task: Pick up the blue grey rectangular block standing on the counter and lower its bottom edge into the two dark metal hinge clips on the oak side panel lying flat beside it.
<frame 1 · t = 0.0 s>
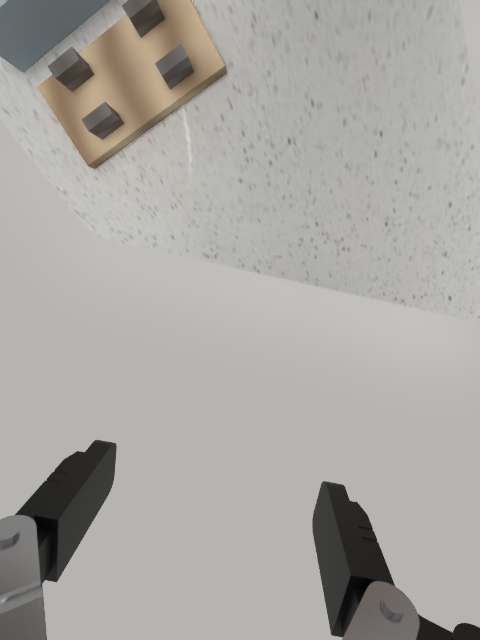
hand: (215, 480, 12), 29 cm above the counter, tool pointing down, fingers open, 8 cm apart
blue grey rectangular block: (64, 18, 34), on the counter
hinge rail: (134, 83, 35), on the counter
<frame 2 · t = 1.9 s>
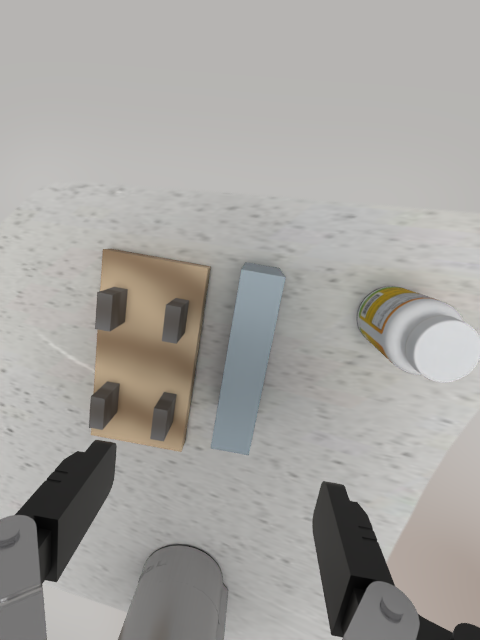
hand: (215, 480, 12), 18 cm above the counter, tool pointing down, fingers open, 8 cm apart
blue grey rectangular block: (248, 339, 30), on the counter
supplement bottle: (386, 315, 29), on the counter
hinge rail: (150, 352, 31), on the counter
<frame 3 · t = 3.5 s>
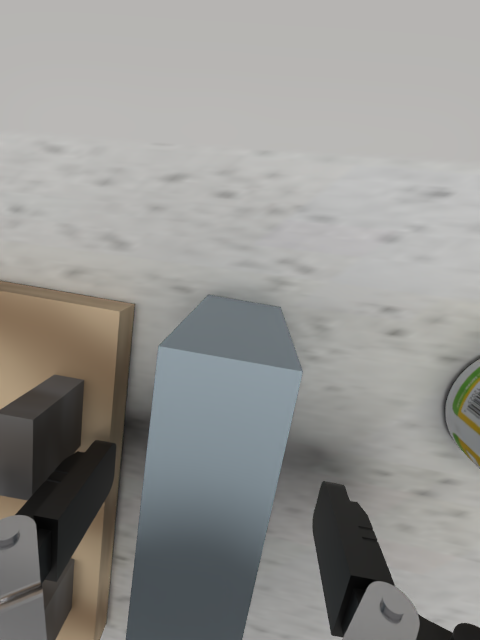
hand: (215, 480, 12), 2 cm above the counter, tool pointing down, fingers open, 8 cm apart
blue grey rectangular block: (219, 447, 15), on the counter
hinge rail: (27, 468, 16), on the counter
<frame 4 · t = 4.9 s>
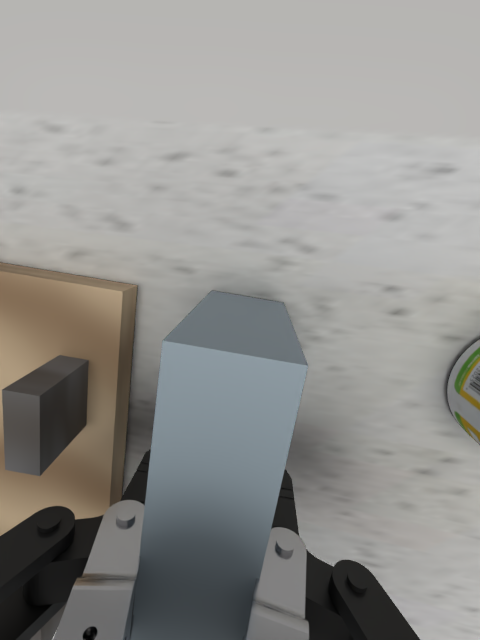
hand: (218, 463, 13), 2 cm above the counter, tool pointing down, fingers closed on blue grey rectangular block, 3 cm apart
blue grey rectangular block: (222, 443, 15), on the counter, touching gripper
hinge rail: (34, 449, 16), on the counter
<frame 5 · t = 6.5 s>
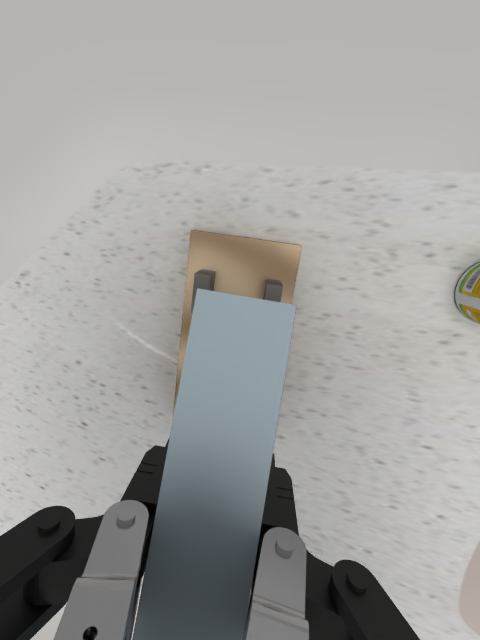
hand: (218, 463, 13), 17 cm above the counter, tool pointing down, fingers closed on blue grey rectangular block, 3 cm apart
blue grey rectangular block: (220, 455, 16), point 15 cm above the counter, tilted 19°, touching gripper
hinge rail: (232, 338, 30), on the counter
when the fingers open (4 cm above the counter, at t = 8.6 s): blue grey rectangular block stays where it is, resting on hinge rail.
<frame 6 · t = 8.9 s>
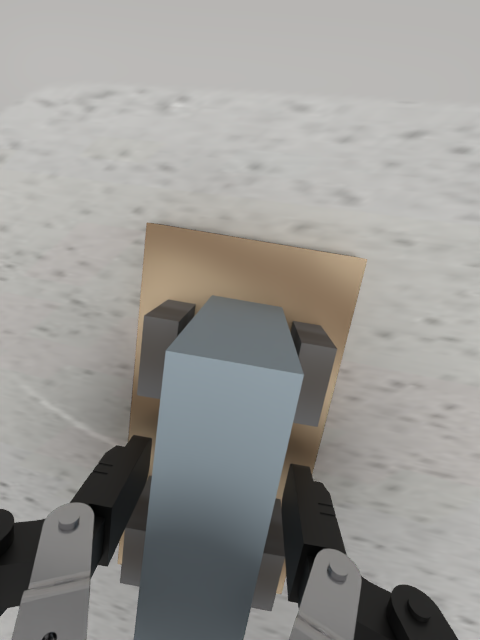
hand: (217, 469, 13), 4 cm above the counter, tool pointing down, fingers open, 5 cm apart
blue grey rectangular block: (222, 443, 15), point 1 cm above the counter, touching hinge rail
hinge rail: (226, 417, 17), on the counter
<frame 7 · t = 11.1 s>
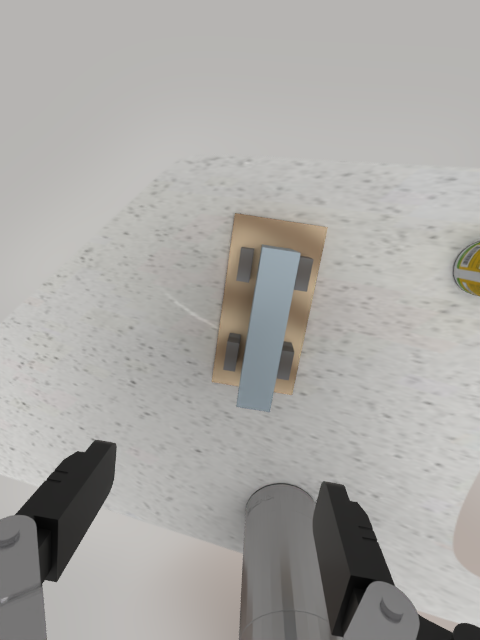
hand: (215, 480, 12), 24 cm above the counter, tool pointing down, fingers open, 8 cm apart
blue grey rectangular block: (264, 314, 34), point 1 cm above the counter, touching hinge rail
supplement bottle: (478, 267, 33), on the counter
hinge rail: (265, 307, 35), on the counter
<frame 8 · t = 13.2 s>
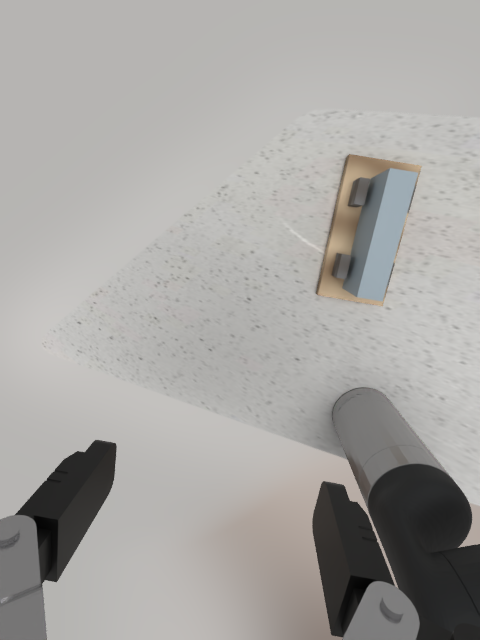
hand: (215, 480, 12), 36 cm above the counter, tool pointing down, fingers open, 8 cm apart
blue grey rectangular block: (366, 237, 43), point 1 cm above the counter, touching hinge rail
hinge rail: (363, 234, 44), on the counter
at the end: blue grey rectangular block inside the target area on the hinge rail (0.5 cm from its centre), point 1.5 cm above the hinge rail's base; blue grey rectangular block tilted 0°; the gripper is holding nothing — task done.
